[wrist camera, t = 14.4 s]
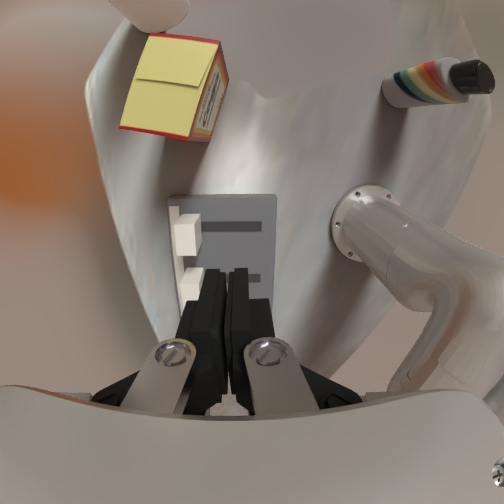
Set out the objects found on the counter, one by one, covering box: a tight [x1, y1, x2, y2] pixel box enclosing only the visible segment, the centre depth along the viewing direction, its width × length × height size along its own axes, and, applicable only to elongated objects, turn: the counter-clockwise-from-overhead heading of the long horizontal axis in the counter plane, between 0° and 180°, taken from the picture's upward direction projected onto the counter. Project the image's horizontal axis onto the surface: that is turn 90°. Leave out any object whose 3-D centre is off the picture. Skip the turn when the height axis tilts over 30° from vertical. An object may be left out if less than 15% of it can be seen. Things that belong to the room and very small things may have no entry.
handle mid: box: [180, 267, 204, 310], centre depth 37 cm, size 2×4×5 cm, turn 179°
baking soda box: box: [119, 33, 229, 142], centre depth 25 cm, size 10×6×16 cm
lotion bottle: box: [382, 57, 495, 108], centre depth 23 cm, size 6×6×20 cm
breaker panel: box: [167, 194, 277, 319], centre depth 41 cm, size 15×24×3 cm, turn 0°
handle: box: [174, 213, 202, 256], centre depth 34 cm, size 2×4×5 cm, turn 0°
